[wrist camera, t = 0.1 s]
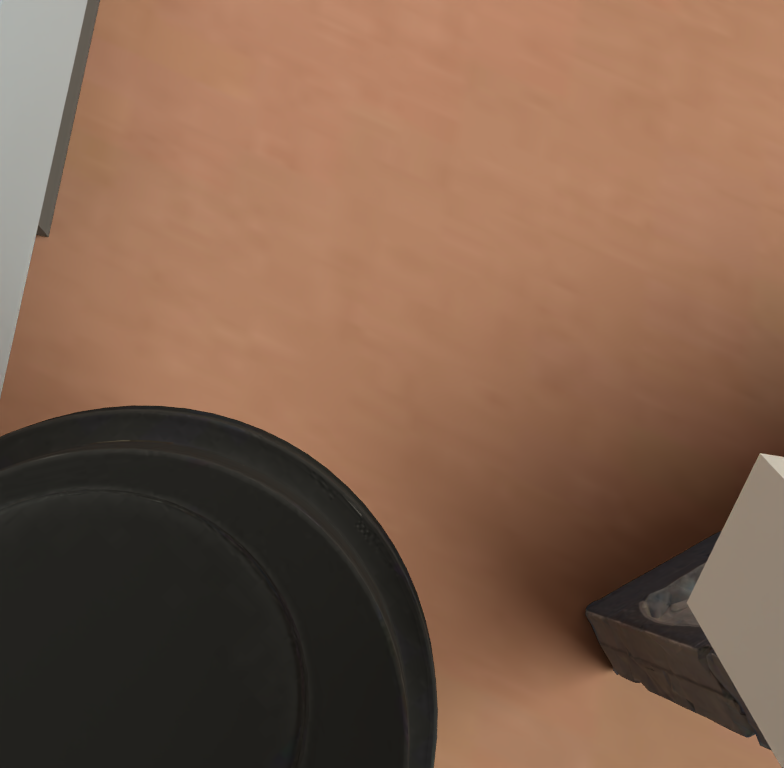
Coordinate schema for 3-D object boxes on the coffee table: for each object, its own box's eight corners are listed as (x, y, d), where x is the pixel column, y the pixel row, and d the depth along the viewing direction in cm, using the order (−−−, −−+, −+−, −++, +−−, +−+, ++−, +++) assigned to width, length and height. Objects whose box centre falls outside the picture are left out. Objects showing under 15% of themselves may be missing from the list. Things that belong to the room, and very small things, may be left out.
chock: (48, 236, 25) (7, 189, 21) (-47, 220, 25) (-107, 168, 21) (106, -29, 27) (77, -119, 23) (17, -48, 26) (-27, -144, 22)
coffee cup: (240, 813, 23) (191, 1348, 9) (-17, 647, 23) (-522, 915, 8) (404, 554, 25) (590, 635, 11) (172, 396, 25) (33, 253, 10)
